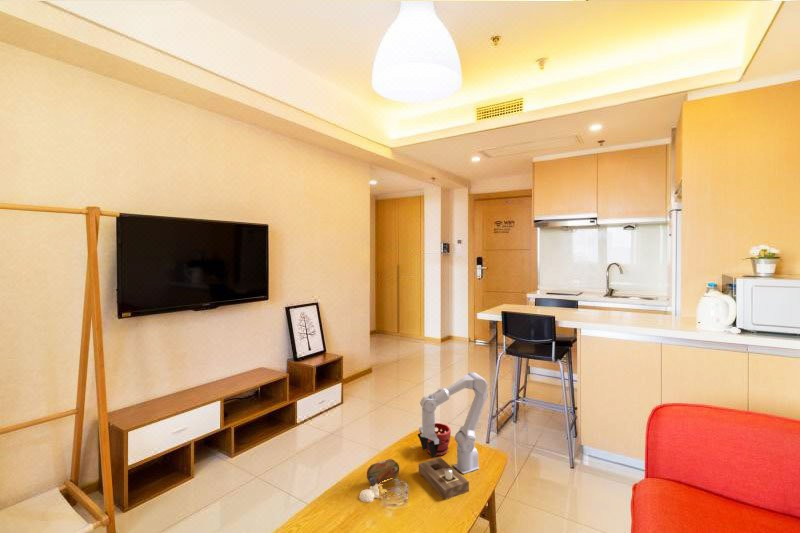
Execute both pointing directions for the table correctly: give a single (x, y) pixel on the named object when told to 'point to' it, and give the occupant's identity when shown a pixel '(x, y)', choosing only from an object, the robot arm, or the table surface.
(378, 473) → the tin
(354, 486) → the table surface
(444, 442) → the plant pot
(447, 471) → the pin
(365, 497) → the astronaut figurine
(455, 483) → the bore block
